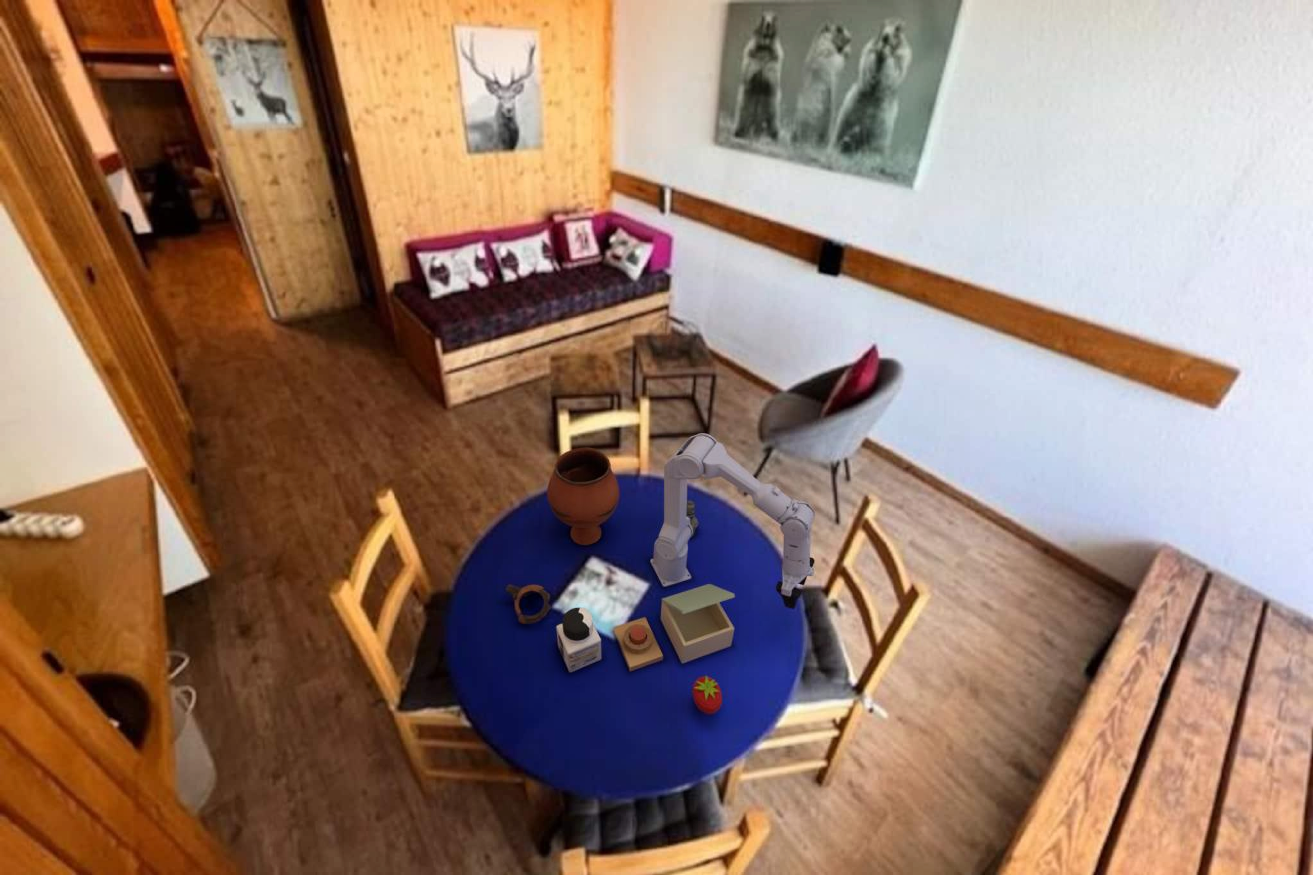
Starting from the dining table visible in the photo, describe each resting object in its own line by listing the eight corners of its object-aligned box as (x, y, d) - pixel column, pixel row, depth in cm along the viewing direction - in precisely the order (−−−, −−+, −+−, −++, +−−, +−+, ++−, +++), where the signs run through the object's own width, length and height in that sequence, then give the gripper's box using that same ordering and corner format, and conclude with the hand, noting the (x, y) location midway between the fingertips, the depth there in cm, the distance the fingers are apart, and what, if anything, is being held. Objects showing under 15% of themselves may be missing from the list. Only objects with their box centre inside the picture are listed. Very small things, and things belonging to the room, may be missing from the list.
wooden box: (731, 646, 134) (734, 628, 130) (681, 663, 130) (684, 646, 126) (707, 603, 143) (709, 586, 139) (660, 619, 139) (661, 601, 135)
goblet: (582, 499, 171) (579, 432, 156) (633, 529, 163) (635, 460, 148) (536, 537, 158) (527, 468, 143) (589, 571, 150) (585, 501, 135)
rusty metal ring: (559, 596, 144) (557, 592, 136) (540, 633, 140) (538, 630, 132) (515, 576, 144) (512, 570, 137) (496, 611, 141) (491, 608, 133)
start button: (627, 633, 132) (627, 628, 131) (642, 628, 133) (642, 624, 132) (633, 646, 129) (633, 641, 128) (648, 641, 131) (648, 636, 130)
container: (569, 673, 127) (566, 639, 119) (557, 645, 132) (554, 610, 124) (602, 659, 130) (601, 625, 122) (589, 632, 135) (587, 597, 127)
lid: (735, 597, 126) (734, 593, 126) (682, 614, 122) (682, 610, 122) (710, 586, 139) (709, 583, 139) (662, 602, 135) (661, 598, 135)
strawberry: (697, 728, 118) (702, 703, 112) (685, 695, 124) (689, 669, 118) (724, 721, 120) (730, 696, 114) (711, 688, 126) (716, 662, 120)
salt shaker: (695, 540, 160) (699, 509, 153) (674, 536, 161) (677, 505, 154) (698, 525, 165) (702, 494, 157) (678, 521, 166) (681, 491, 158)
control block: (613, 631, 136) (613, 622, 134) (645, 621, 138) (645, 612, 136) (629, 671, 128) (629, 662, 126) (662, 659, 130) (663, 651, 128)
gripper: (805, 580, 119) (802, 623, 127) (823, 535, 130) (820, 578, 137) (772, 570, 122) (771, 613, 130) (793, 527, 133) (791, 569, 140)
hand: (794, 594), depth 134 cm, fingers open, 7 cm apart
